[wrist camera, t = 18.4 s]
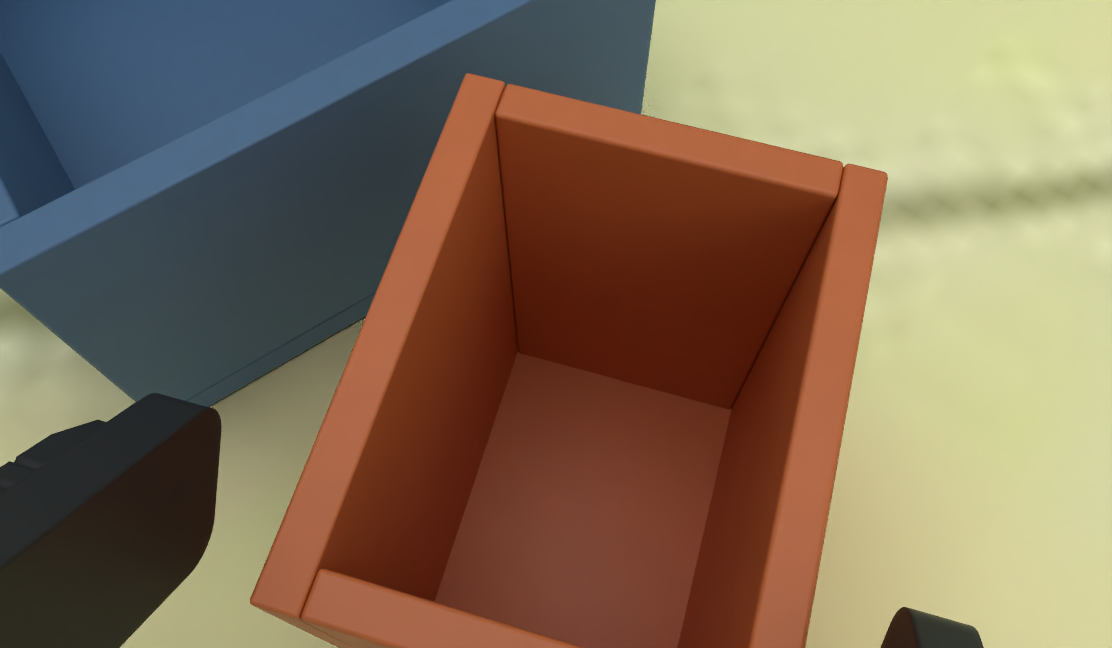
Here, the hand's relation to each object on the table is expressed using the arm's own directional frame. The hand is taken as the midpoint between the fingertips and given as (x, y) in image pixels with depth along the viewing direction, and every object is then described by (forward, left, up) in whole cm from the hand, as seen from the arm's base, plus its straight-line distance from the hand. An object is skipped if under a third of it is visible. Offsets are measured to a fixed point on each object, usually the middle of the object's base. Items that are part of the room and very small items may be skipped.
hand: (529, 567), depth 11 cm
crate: (-2, +2, -9) cm, 9 cm away
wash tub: (-16, +2, -9) cm, 18 cm away
